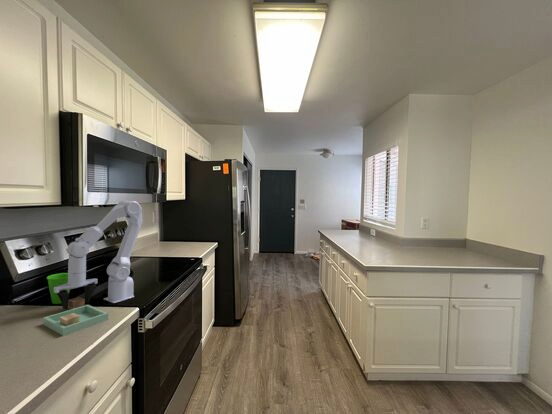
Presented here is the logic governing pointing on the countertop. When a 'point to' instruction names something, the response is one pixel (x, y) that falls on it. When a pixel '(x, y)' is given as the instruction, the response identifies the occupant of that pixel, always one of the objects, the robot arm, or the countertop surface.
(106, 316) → the tray
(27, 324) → the countertop surface
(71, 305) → the walnut block
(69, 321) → the beech block in tray
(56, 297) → the cup
